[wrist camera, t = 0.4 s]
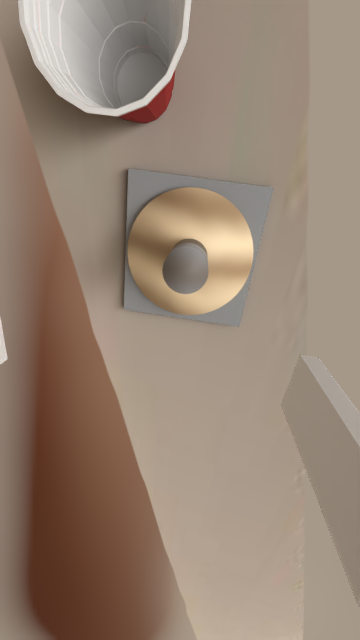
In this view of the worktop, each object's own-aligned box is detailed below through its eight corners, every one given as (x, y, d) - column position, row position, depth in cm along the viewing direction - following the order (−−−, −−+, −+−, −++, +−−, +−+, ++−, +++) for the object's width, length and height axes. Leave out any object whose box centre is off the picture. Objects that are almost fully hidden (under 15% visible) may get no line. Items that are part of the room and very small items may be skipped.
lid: (132, 179, 29) (108, 171, 22) (266, 197, 28) (287, 195, 21) (127, 303, 35) (107, 329, 28) (237, 319, 35) (245, 350, 28)
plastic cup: (194, 0, 23) (185, -175, 12) (199, 143, 28) (196, 106, 17) (79, 20, 24) (-20, -125, 14) (102, 154, 29) (41, 125, 18)
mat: (130, 169, 29) (128, 168, 28) (271, 188, 29) (273, 187, 28) (125, 306, 36) (123, 309, 36) (238, 323, 36) (239, 326, 35)
